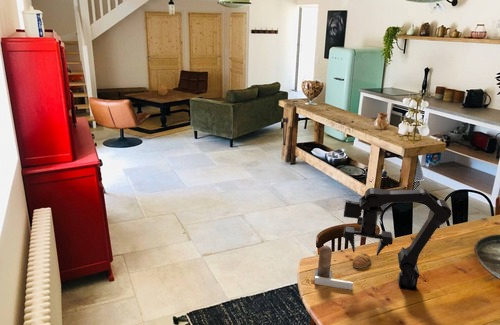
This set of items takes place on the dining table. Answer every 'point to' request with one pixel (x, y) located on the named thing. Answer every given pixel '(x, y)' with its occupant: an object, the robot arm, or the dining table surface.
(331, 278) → the resting pad
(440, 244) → the dining table surface
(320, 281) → the silver flat bar
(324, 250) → the skittle
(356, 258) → the pastry
